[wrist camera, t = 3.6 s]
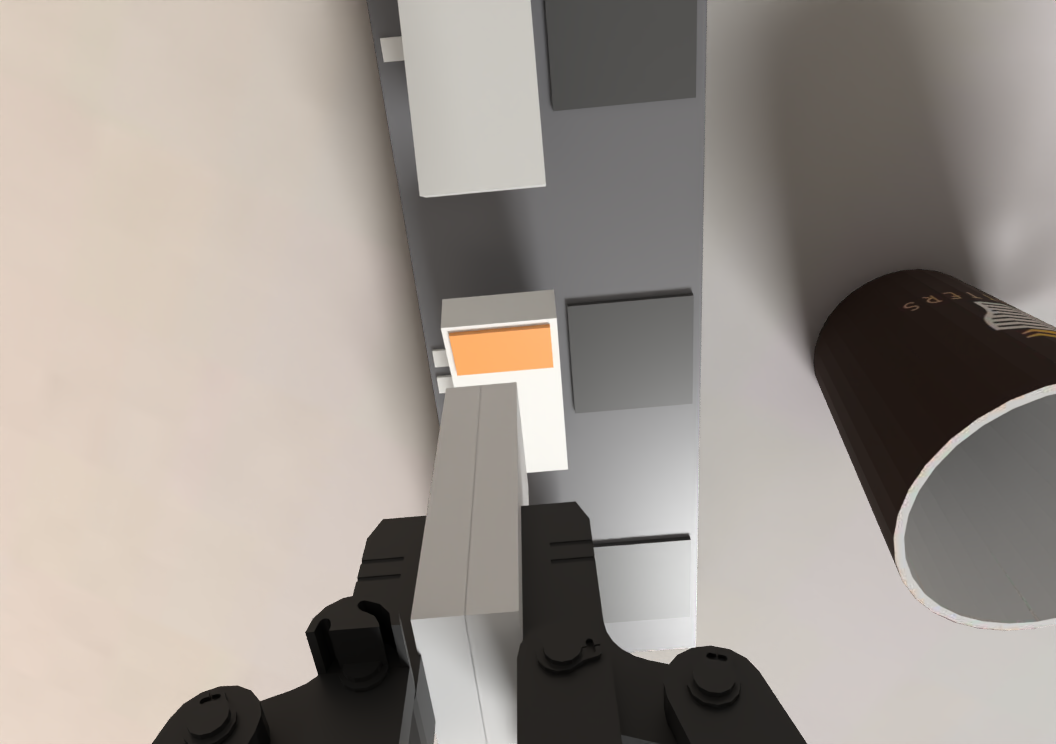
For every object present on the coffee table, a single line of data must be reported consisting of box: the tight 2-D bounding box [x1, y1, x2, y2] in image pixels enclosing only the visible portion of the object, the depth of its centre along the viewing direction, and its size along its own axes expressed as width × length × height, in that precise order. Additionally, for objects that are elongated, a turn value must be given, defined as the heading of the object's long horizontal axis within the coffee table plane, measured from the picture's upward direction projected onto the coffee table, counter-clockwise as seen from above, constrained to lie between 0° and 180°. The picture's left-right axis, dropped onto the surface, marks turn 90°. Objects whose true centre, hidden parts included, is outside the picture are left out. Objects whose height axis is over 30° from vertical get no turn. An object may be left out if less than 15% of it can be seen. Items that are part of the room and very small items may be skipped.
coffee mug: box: [814, 269, 1056, 631], centre depth 26 cm, size 12×9×10 cm
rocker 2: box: [441, 289, 568, 473], centre depth 24 cm, size 7×3×1 cm, turn 6°
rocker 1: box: [398, 0, 546, 198], centre depth 20 cm, size 7×3×1 cm, turn 5°
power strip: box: [367, 0, 707, 653], centre depth 29 cm, size 36×9×4 cm, turn 5°
